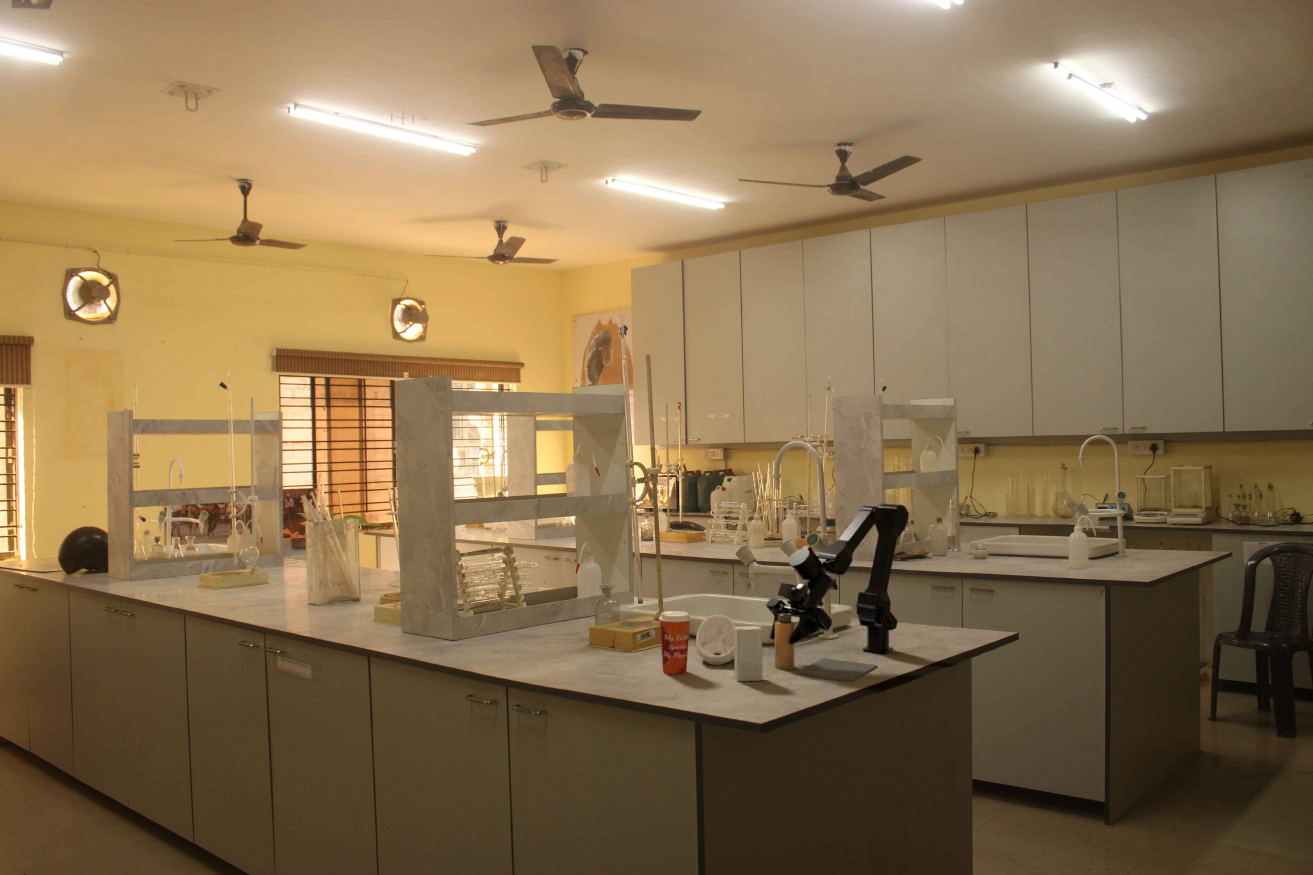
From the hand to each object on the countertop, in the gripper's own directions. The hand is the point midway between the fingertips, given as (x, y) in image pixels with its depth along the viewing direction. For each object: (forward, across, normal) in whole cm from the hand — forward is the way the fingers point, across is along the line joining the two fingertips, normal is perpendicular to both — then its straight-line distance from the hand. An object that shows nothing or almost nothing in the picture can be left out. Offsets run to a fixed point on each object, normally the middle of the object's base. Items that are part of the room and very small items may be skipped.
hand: (780, 640), depth 234 cm
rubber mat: (-2, +10, +12) cm, 15 cm away
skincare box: (+15, +4, -5) cm, 16 cm away
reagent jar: (+4, 0, +6) cm, 7 cm away
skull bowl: (+10, -15, 0) cm, 18 cm away
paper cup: (+22, -11, -12) cm, 27 cm away
